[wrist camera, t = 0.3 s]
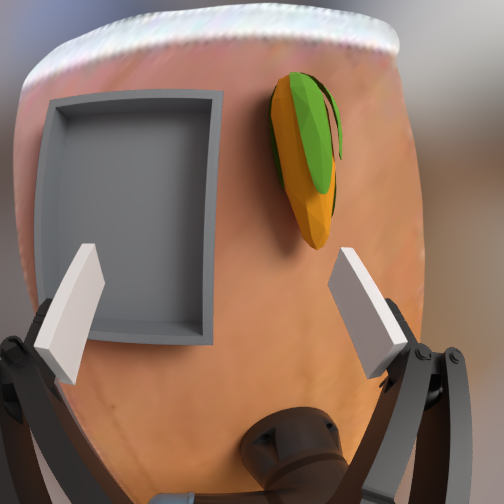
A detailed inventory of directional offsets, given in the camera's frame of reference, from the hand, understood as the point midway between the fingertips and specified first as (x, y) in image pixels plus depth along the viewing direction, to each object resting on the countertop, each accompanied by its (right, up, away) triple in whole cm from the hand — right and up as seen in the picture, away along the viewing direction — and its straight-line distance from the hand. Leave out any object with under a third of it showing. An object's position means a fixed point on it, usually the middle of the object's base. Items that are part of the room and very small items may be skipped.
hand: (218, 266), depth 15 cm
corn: (+7, +11, +17) cm, 22 cm away
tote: (-12, +5, +14) cm, 19 cm away
